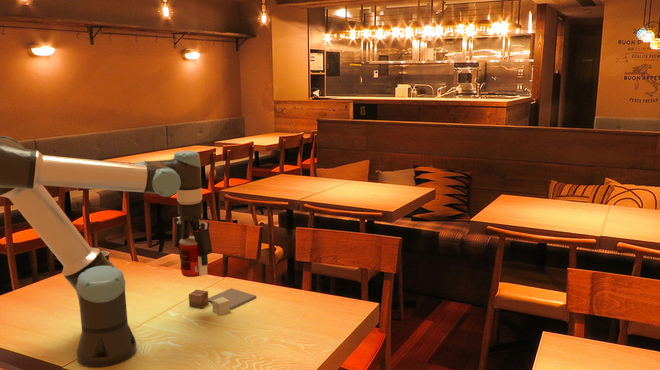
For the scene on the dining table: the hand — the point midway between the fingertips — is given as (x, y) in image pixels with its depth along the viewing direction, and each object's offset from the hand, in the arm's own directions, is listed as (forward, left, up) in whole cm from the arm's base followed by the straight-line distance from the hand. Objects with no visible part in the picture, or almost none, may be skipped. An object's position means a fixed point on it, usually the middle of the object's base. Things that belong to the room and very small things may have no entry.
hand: (194, 272), depth 175 cm
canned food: (0, 0, 0) cm, 0 cm away
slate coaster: (+15, 0, -14) cm, 21 cm away
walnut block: (+6, +5, -14) cm, 16 cm away
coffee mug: (+2, +55, -14) cm, 57 cm away
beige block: (+6, -5, -14) cm, 16 cm away
